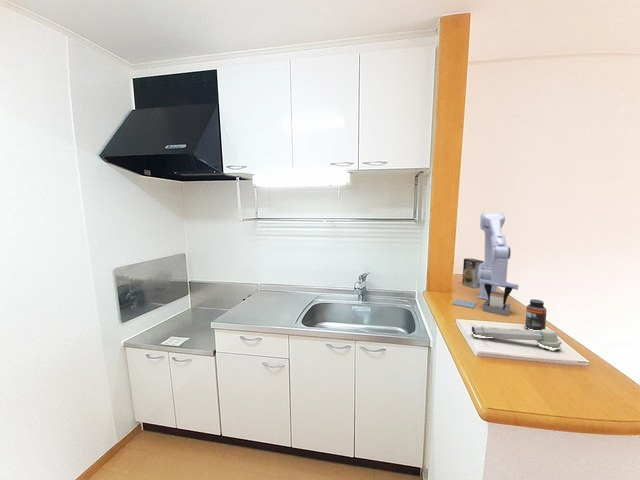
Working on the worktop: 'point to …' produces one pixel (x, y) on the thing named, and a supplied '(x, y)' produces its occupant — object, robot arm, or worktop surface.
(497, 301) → the beige pink box
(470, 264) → the coffee box
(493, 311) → the frame
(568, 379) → the worktop surface
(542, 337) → the angled head flashlight
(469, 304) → the rubber mat
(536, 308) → the supplement bottle
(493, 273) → the robot arm
